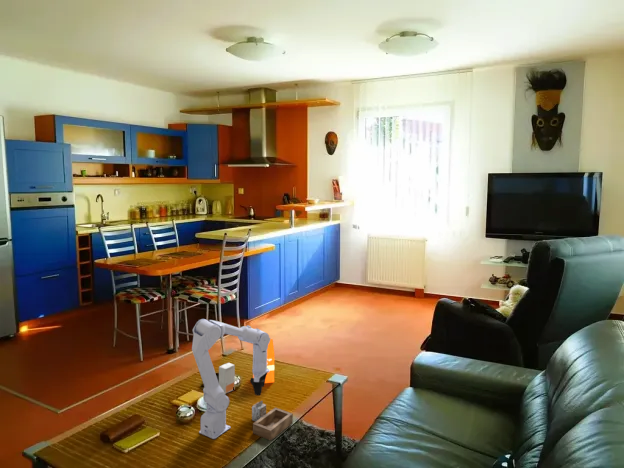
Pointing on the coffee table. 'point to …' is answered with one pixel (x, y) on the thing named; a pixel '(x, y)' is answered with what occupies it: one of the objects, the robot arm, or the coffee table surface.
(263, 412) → the bracket
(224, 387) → the skincare box
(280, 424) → the well block
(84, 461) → the coffee table surface
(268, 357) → the orange juice
